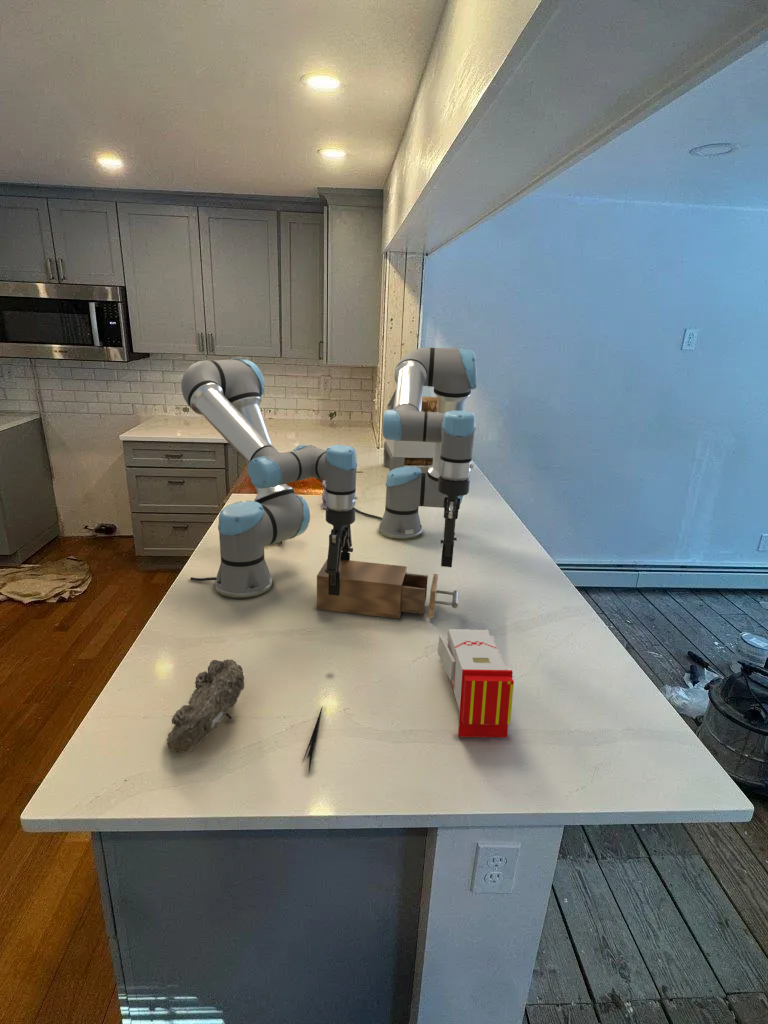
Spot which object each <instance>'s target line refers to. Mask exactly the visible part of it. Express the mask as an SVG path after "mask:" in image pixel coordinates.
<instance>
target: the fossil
mask: <svg viewBox="0 0 768 1024" xmlns="http://www.w3.org/2000/svg"><path fill="white" fill-rule="evenodd" d="M243 670H244V669H243V667H242V665H240V664H237V662H236V661H235V660H234V659H232V658H231V659H227V658H226V659H224V660H223V661H222V660H217V659H212V660H211V661H210V663H209V665H208V666H207V671H201V672H199V673H198V674H197V675H196V676H195V680H194V684H195V685H194V687H195V689H194V690H193V693H192V694H191V697H190V698H189V700H188V704H184V705H182V706H181V707H180V709H177V710H176V711H175V713H174V715H173V716H172V718H171V723H172V724H173V727H172V730H171V731H170V732H168V734H167V738H166V741H167V742H166V745H167V749H168V750H169V751H173V752H174V753H176V754H178V753H182V752H188V751H189V752H192V751H193V750H195V748H196V747H197V746H199V744H200V743H201V742H203V741H204V740H205V739H206V738H207V737H208V736H209V735H210V734H211V733H212V732H214V730H215V729H217V727H218V726H219V724H220V722H221V721H222V720H223V719H224V718H225V716H226V717H227V719H229V720H233V717H232V715H230V714H229V710H230V709H231V708H234V706H235V704H236V703H237V702H238V699H239V697H240V695H241V693H242V691H243V690H245V689H244V688H245V675H244V671H243Z"/></svg>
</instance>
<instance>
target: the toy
mask: <svg viewBox="0 0 768 1024" xmlns="http://www.w3.org/2000/svg"><path fill="white" fill-rule="evenodd" d="M446 640H447V643H446V641H445V639H444V636H443V635H442V634H439V637H438V646H437V656H438V657H439V659H440V661H441V663H442V666H443V668H444V670H445V672H446V674H447V677H448V679H449V681H450V684H451V687H452V690H453V693H454V697H455V701H456V705H457V708H458V711H459V714H458V715H459V716H458V730H457V731H458V732H457V737H458V738H508V731H509V726H510V725H511V717H512V707H513V697H514V696H513V695H514V684H515V680H514V679H513V673H514V671H513V670H512V669H508V667H507V665H506V662H505V661H504V659H503V658H502V655H501V653H500V651H499V649H498V647H497V643H496V639H495V637H494V635H493V634H491V632H490V631H489V629H467V628H466V629H465V628H463V629H461V628H460V629H459V628H448V630H447V639H446Z"/></svg>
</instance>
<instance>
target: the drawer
mask: <svg viewBox="0 0 768 1024" xmlns="http://www.w3.org/2000/svg"><path fill="white" fill-rule="evenodd" d="M428 579H429V576H428V575H427V574H426V575H425V574H418V573H417V574H416V573H408V572H407V573H406V574H405V577H404V581H403V584H402V591H401V608H400V611H401V613H402V612H403V613H411V614H418V615H424V613H425V606H426V602H427V593H428ZM438 580H439V574H438V573H433V576H432V583H431V587H430V592H429V593H430V594H429V608H428V619H434V617H435V610H436V605H443V606H451V607H452V608H453V609H458V607H459V599H460V592H459V590H457V589H454V590H453V591H449V590H438V584H439V583H438V582H439V581H438ZM438 594H441V595H450V596H451V602H450V601H443V600H437V595H438Z"/></svg>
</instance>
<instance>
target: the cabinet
mask: <svg viewBox="0 0 768 1024" xmlns="http://www.w3.org/2000/svg"><path fill="white" fill-rule="evenodd" d="M327 560H328V558H327V559H326V561H325V562H324V563H323V565H322V567H321V569H320V570H319V571H318V573H317V575H316V610H321V611H322V610H323V611H331V612H339V613H347V614H356V615H364V616H372V617H380V618H387V619H397V620H399V619H401V614H402V611H400V608H401V591H402V584H403V581H404V577H405V574H406V573H408V566H406V565H396V564H387V563H379V562H368V561H359V560H351V559H350V560H342V559H340V565H339V572H340V587H339V596H336V595H328V587H329V574H327V573H326V572H325V570H327Z"/></svg>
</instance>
